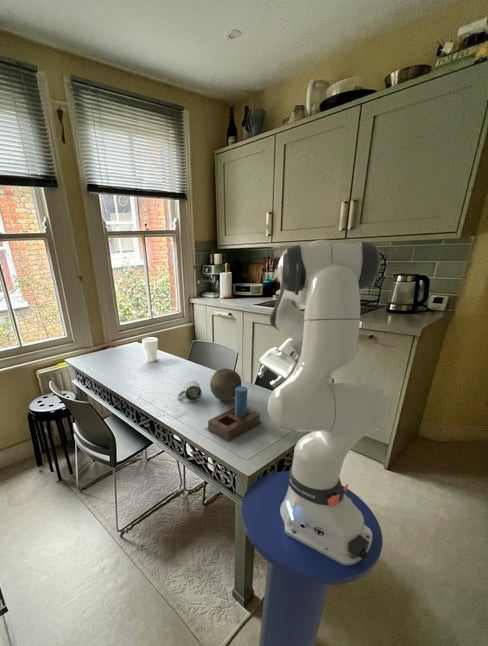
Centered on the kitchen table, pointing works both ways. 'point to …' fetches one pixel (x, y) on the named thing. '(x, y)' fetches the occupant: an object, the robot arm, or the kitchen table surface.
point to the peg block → (232, 423)
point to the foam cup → (150, 348)
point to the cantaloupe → (225, 384)
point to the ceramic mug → (191, 391)
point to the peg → (241, 401)
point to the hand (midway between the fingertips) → (265, 381)
